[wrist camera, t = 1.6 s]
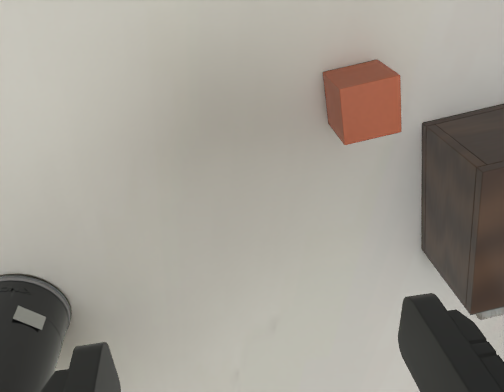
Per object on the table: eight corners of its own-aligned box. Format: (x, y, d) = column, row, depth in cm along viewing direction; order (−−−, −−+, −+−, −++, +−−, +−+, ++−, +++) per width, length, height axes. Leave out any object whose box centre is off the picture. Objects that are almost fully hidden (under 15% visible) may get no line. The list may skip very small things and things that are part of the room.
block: (379, 111, 40) (401, 132, 36) (328, 123, 40) (344, 145, 36) (377, 59, 37) (400, 74, 33) (322, 72, 37) (339, 89, 33)
